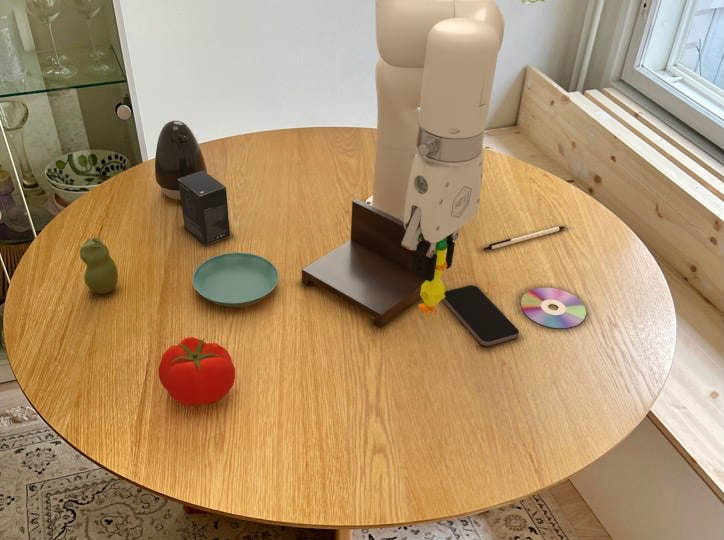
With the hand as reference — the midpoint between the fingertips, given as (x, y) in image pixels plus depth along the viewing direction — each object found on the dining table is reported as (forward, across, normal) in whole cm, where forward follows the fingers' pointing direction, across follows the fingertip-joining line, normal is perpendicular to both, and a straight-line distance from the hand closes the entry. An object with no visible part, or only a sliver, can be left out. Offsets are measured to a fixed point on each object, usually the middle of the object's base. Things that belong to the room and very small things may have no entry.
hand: (431, 269), depth 98 cm
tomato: (+23, -23, +23) cm, 39 cm away
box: (+23, +6, +55) cm, 60 cm away
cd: (+23, +32, -5) cm, 40 cm away
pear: (+23, -18, +54) cm, 61 cm away
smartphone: (+23, +21, +3) cm, 31 cm away
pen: (+23, +47, +10) cm, 54 cm away
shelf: (+23, +14, +22) cm, 35 cm away
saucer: (+23, -2, +38) cm, 44 cm away
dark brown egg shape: (+23, +12, +69) cm, 74 cm away
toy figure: (+7, 0, 0) cm, 7 cm away
